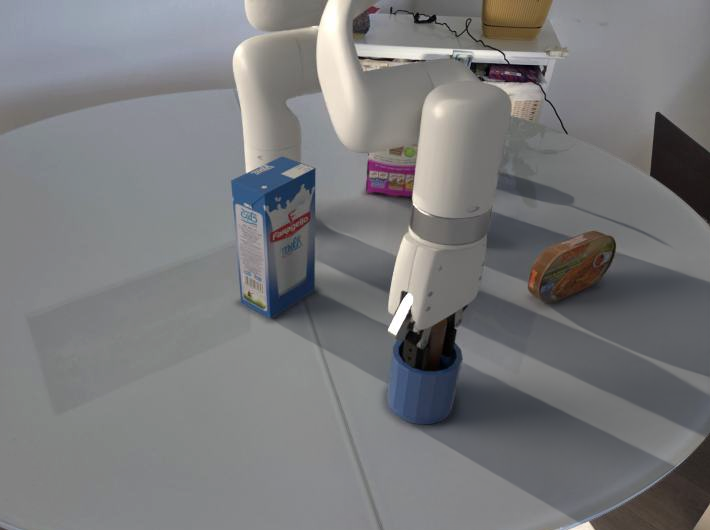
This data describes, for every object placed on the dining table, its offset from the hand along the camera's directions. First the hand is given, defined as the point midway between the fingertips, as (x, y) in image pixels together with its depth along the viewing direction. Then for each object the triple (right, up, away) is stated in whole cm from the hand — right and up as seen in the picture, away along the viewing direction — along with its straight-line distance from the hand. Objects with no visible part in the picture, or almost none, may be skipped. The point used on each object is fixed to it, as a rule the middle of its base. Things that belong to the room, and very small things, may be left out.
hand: (427, 357), depth 74 cm
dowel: (0, -5, +4) cm, 6 cm away
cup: (0, -6, +5) cm, 7 cm away
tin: (+26, +10, +21) cm, 35 cm away
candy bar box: (+7, +31, +48) cm, 58 cm away
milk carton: (-16, +9, +24) cm, 30 cm away
